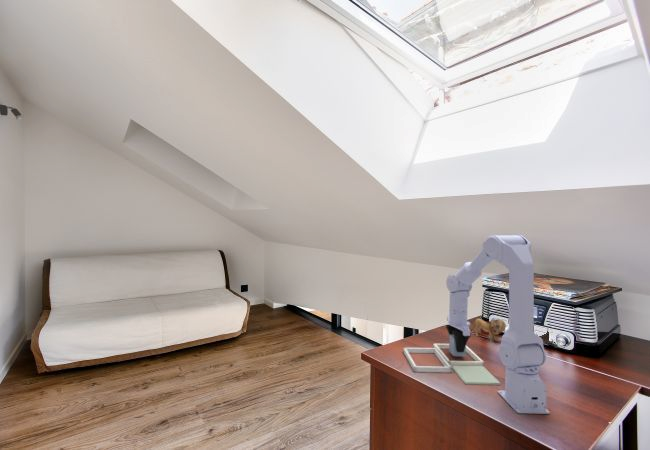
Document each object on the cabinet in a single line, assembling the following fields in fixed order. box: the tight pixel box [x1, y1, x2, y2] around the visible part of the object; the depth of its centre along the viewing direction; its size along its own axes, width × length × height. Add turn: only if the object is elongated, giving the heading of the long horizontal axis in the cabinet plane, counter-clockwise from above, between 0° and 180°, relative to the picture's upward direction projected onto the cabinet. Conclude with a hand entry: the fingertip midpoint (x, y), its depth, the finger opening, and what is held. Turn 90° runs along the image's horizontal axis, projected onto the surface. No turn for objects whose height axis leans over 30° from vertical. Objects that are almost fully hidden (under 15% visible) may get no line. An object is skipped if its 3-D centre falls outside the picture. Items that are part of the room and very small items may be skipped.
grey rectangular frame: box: [402, 347, 453, 374], centre depth 105 cm, size 15×12×2 cm
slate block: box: [448, 334, 467, 357], centre depth 109 cm, size 4×4×6 cm
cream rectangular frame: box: [432, 343, 485, 368], centre depth 109 cm, size 15×12×2 cm
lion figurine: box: [469, 318, 507, 343], centre depth 127 cm, size 15×5×9 cm, turn 35°
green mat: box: [452, 366, 501, 386], centre depth 96 cm, size 10×10×1 cm
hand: (457, 348), depth 109 cm, fingers closed on slate block, 4 cm apart
